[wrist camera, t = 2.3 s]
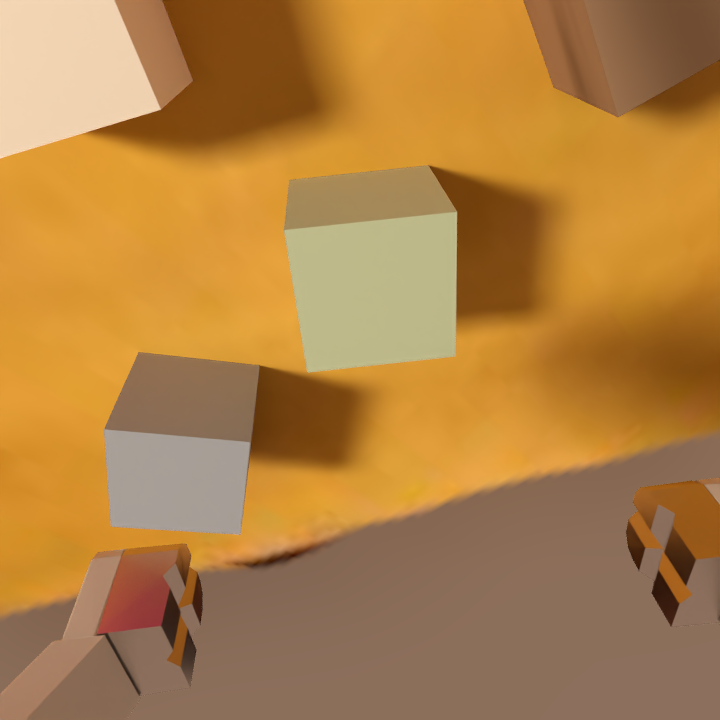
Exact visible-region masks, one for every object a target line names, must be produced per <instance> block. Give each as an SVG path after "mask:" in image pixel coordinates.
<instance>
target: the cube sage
mask: <svg viewBox="0 0 720 720" xmlns="http://www.w3.org/2000/svg"><path fill="white" fill-rule="evenodd" d="M284 233H285V239H286V245H287V251H288V257H289V263H290V270H291V276H292V282H293V288H294V294H295V300H296V306H297V312H298V318H299V325H300V331H301V337H302V343H303V349H304V355H305V361H306V367H307V373H308V372H317V371H326V370H335V369H344V368H353V367H363V366H372V365H381V364H390V363H399V362H409V361H418V360H427V359H436V358H445V357H454V356H456V281H457V211H456V209H455V207H454V206H453V204H452V203H451V201H450V199H449V198H448V196H447V195H446V193H445V191H444V190H443V188H442V186H441V185H440V183H439V182H438V180H437V178H436V177H435V175H434V174H433V172H432V170H431V169H430V167H429V166H428V165H427V166H417V167H408V168H398V169H389V170H379V171H370V172H360V173H351V174H341V175H332V176H322V177H313V178H303V179H294V180H289V188H288V197H287V207H286V216H285V226H284Z"/></svg>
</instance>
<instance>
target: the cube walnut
mask: <svg viewBox="0 0 720 720" xmlns="http://www.w3.org/2000/svg"><path fill="white" fill-rule="evenodd" d="M524 3H525V6H526V9H527V12H528V15H529V18H530V21H531V23H532V26H533V29H534V32H535V35H536V38H537V41H538V44H539V47H540V49H541V52H542V55H543V58H544V61H545V64H546V67H547V70H548V72H549V75H550V78H551V81H552V84H553V87H554V88H556V89H558V90H561V91H563V92H565V93H567V94H569V95H571V96H573V97H576V98H578V99H580V100H582V101H584V102H586V103H589V104H591V105H593V106H595V107H597V108H599V109H602V110H604V111H606V112H608V113H610V114H612V115H615V116H617V117H619V116H621V115H623V114H625V113H626V112H628V111H630V110H632V109H634V108H635V107H637V106H639V105H641V104H642V103H644V102H646V101H648V100H649V99H651V98H653V97H655V96H657V95H658V94H660V93H662V92H664V91H665V90H667V89H669V88H671V87H673V86H674V85H676V84H678V83H680V82H681V81H683V80H685V79H687V78H689V77H690V76H692V75H694V74H696V73H697V72H699V71H701V70H703V69H704V68H706V67H708V66H710V65H712V64H713V63H715V62H717V61H719V60H720V0H524Z"/></svg>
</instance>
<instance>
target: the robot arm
mask: <svg viewBox="0 0 720 720" xmlns="http://www.w3.org/2000/svg"><path fill="white" fill-rule="evenodd" d="M633 503H634V505H635V507H636V508H637V510H638V511H637V512H636V513H635V514H634V515H633V516H632V517H631V518H630V519H629V520H628V524H627V530H626V537H627V544H628V549H629V551H630V554H631V557H632V559H633V561H634V563H635V565H636V567H637V568H638V570H639V571H640V572H641V573H643V574H644V575H646V576H647V577H649V578H650V579H652V580H653V581H654V582H653V588H652V595H653V597H654V598H655V600H656V602H657V604H658V605H659V607H660V609H661V610H662V612H663V614H664V616H665V617H666V619H667V621H668V622H669V624H670V626H671V627H678V626H689V625H699V624H709V623H720V478H714V479H705V480H696V481H686V482H678V483H670V484H663V485H655V486H648V487H640V489H639V490H638V491H637V492H636V493H635V496H634V500H633ZM190 561H191V554H190V551H189V549H188V547H187V544H174V545H163V546H152V547H142V548H131V549H123V550H114V551H104V552H98V553H97V554H96V555H95V557H94V558H93V559H92V561H91V563H90V565H89V568H88V571H87V573H86V576H85V579H84V582H83V584H82V587H81V590H80V592H79V595H78V598H77V600H76V603H75V606H74V609H73V612H72V614H71V617H70V619H69V622H68V625H67V628H66V630H65V633H64V636H63V638H62V640H59V641H53V642H52V643H51V644H50V645H49V646H48V647H47V648H46V649H45V650H44V651H43V652H42V653H41V654H40V655H39V656H38V657H37V658H36V659H35V660H34V661H33V662H32V663H31V664H30V665H29V666H28V667H27V668H26V669H25V670H24V671H23V672H22V673H21V674H20V675H19V676H18V677H17V678H16V679H15V680H14V681H13V682H12V683H11V684H10V685H9V686H8V687H7V688H6V689H5V690H4V691H3V692H2V693H1V694H0V720H126V719H127V718H128V717H129V715H130V714H131V712H132V711H133V709H134V708H135V706H136V705H137V704H138V702H139V701H140V696H142V695H149V694H155V693H161V692H168V691H175V690H180V689H188V688H190V687H191V681H192V675H193V669H194V663H195V656H196V647H195V645H194V642H193V640H192V637H191V636H192V635H193V634H194V633H195V632H196V630H197V629H198V628H199V627H200V625H201V618H202V611H203V592H202V586H201V581H200V578H199V575H198V572H197V571H195V570H193V569H192V568H190V567H189V566H190Z"/></svg>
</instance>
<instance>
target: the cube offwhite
mask: <svg viewBox="0 0 720 720" xmlns="http://www.w3.org/2000/svg"><path fill="white" fill-rule="evenodd" d="M192 81H193V79H192V76H191V74H190V71H189V69H188V66H187V64H186V61H185V58H184V56H183V53H182V51H181V48H180V45H179V43H178V40H177V38H176V35H175V32H174V30H173V27H172V25H171V22H170V19H169V17H168V14H167V12H166V9H165V6H164V4H163V1H162V0H0V158H3V157H6V156H9V155H13V154H16V153H19V152H22V151H26V150H29V149H32V148H36V147H39V146H42V145H46V144H49V143H52V142H56V141H59V140H62V139H65V138H69V137H72V136H75V135H79V134H82V133H85V132H89V131H92V130H95V129H99V128H102V127H105V126H108V125H112V124H115V123H118V122H122V121H125V120H128V119H132V118H135V117H138V116H142V115H145V114H148V113H151V112H155V111H158V110H161V109H162V108H163V107H164V106H166V105H167V104H168V103H169V102H170V101H171V100H172V99H173V98H174V97H176V96H177V95H178V94H179V93H180V92H181V91H182V90H183V89H184V88H186V87H187V86H188V85H189V84H190V83H191V82H192Z"/></svg>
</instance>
